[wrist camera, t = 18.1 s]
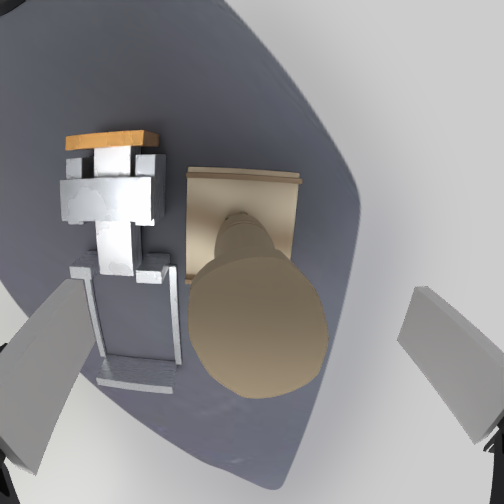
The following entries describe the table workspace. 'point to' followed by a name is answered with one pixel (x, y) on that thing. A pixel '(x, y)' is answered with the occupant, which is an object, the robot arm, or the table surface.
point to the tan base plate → (237, 208)
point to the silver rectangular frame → (129, 368)
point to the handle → (255, 314)
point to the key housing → (114, 192)
